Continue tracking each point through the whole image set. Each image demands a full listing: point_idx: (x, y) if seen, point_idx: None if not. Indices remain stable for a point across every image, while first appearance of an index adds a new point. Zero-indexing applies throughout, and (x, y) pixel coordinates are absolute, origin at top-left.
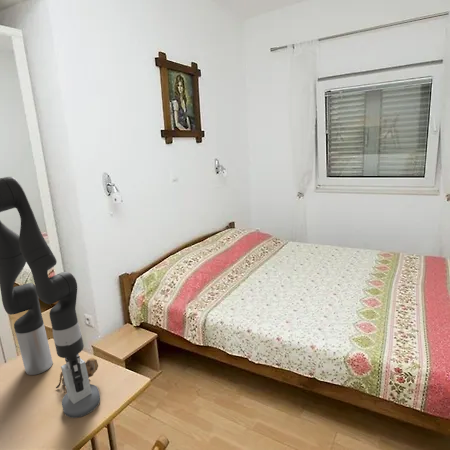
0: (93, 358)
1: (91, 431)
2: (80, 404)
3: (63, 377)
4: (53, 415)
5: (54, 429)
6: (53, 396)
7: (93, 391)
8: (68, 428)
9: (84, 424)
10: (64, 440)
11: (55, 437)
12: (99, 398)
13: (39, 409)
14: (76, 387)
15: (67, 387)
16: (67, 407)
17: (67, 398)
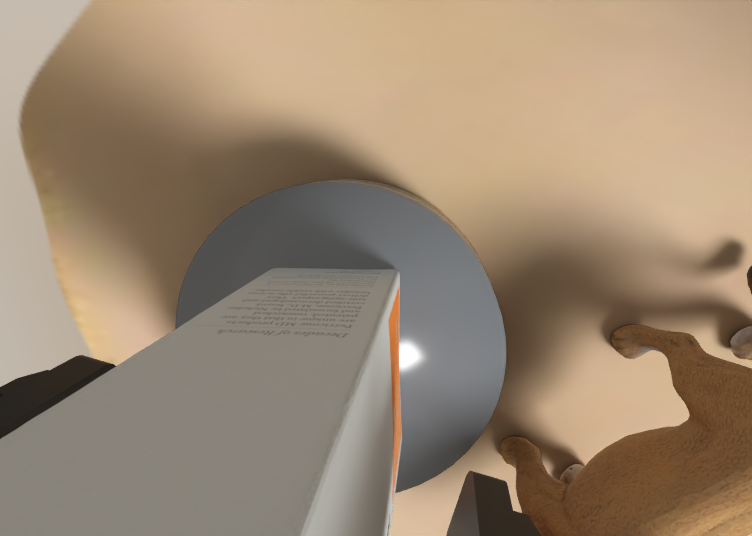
0: None
1: (50, 244)
2: None
3: (749, 378)
4: (416, 104)
5: (251, 53)
6: (673, 197)
7: None
8: (183, 141)
9: (140, 240)
10: (91, 73)
11: (164, 30)
12: None
13: (613, 30)
14: (21, 402)
15: (294, 320)
16: (281, 208)
17: (406, 260)
